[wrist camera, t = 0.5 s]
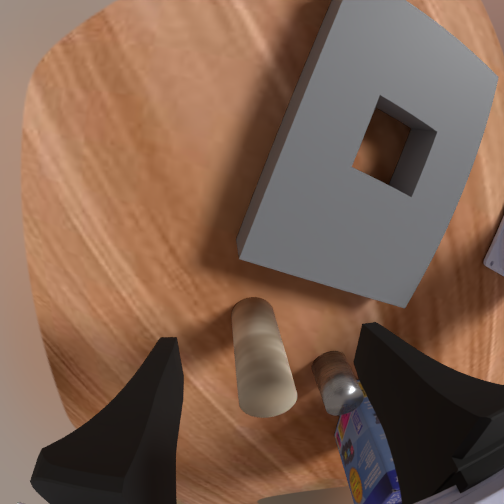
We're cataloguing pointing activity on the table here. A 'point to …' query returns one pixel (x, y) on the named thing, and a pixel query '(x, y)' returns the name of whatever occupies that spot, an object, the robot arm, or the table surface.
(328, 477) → the table surface
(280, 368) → the birch pin
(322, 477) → the table surface
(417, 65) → the hole plate
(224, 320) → the table surface
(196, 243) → the table surface
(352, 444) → the ink cartridge box
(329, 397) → the short steel pin
